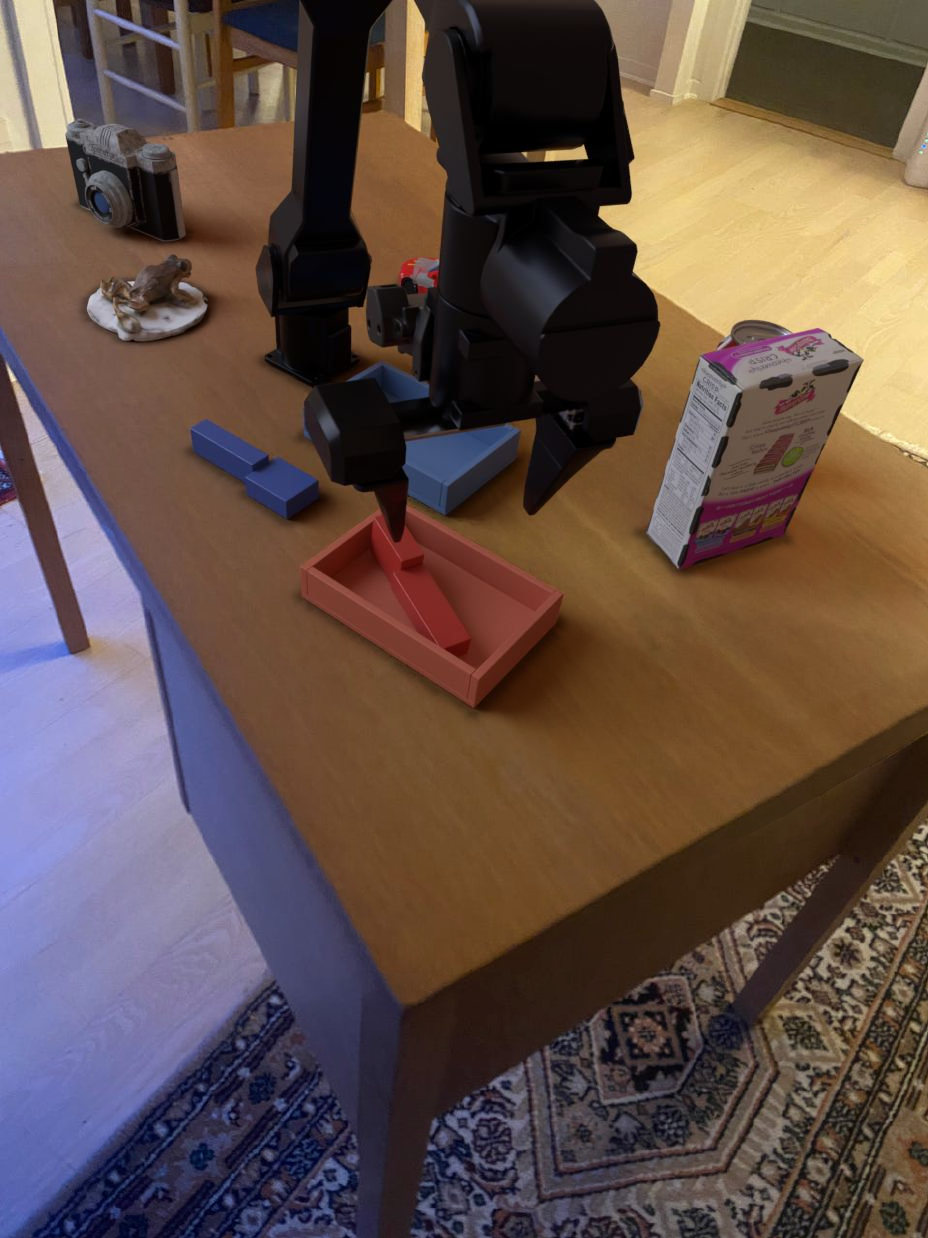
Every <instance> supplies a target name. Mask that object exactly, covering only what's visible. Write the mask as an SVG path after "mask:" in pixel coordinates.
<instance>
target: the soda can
mask: <svg viewBox="0 0 928 1238" xmlns="http://www.w3.org/2000/svg"><path fill="white" fill-rule="evenodd" d="M793 333H794V332H792V331H791V330H789V329H788V328H786V327H784V326H782V325H780V324H777V323H775V322H771V321H767V320H762V319H744V320H741V321H738V322H736V323H734V324H733V326H732V327H731V329H730V334H728V335H727V336H725V337H724V338H722V339H721V340H720V342H719V343H718V344H717V347H716V349H715V351H717V350H722V349H726V348H731V347H735V346H740V345H744V344H749V343H753V342H758V341H762V340H767V339H771V338H775V337H780V336H784V335H789V334H793Z"/></svg>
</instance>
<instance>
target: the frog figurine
mask: <svg viewBox="0 0 928 1238" xmlns="http://www.w3.org/2000/svg"><path fill="white" fill-rule="evenodd" d="M192 265H193V264H192V261H191V260H190V259H188V258H183V257H182V258H180V257H178V256H177V255H176V254H170V255H167V256H166V259H165V260H162V261H161V262H160V263H158V264H156V265H155V264H149V265H147V266H145V267H144V266H143V268H142V269H141V270H140V271H139V272H138V274H137V275H136V277H135V279H134V280H133V281H132V280H131V281H127V280H126V279H125V278H117V279H116V280H115V281H113V280H114V279H115V276H112V277H110V278H109V279H108V280H106V281H104V279H103V278H100V285H99V288H98V289H97V291H95V292H94V293H93V294H91V295H90V296H89V298H88V303H87V306H86V311H87V314H88V316H89V317H90V319H91V320H92V321H93V322H94V323H96V324H97V325H99V326H100V327H102V328H103V329H105V330H108V331H111V332H112V333H115V334H118V338H119V339H121V340H122V341H124V342H125V341H126V342H130V341H132V340H133V341H134V342H150V341H155V340H160V339H161V340H162V339H165V338H168V337H171V336H173V337H174V336H177V335H180V334H183V333H185V331H187V330H188V329H190V328H193V327H194V326H196V325H197V324H199V323H200V322H201V321H202V320H203V318H204V317H205V315H206V311H207V308H208V304H207V303H205V301H208V299H207V298H206V297H205V295H204V293H203V292H202V291H201V290H200V289H199V288H197V287H196V286H192V285H190V284H189V283H186V282H182V281H181V280H183V279H184V278H186V279H189V278H190V277H191V276H192V270H193V268H192V267H193V266H192Z"/></svg>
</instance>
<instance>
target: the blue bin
mask: <svg viewBox="0 0 928 1238" xmlns="http://www.w3.org/2000/svg"><path fill="white" fill-rule="evenodd" d="M367 378H375V379H376V381H377V383H378V384H379V386H380V388H381V389H382V391H383V393H384V394H385V396H386V398H387V399H388V401H389V403H391V402H398V401H405V400H412V399H418V398H425V397H428V396H429V383H428V382H427V381H424V382H419V381H418V380H417V378H416V377H415V375H413V374H410V373H408V372H407V371H405V370H402V369H400V368H398V367H396V366H395V365H392V364H391V363H388V362H386V361H384V360H380V361H377V362H376V363H375V364H373V365H371V366H369V367H368V368H366V369H365V370H362V371H361V372H359V373H357V374H355V375H354V376H352V377H351V378H349V379H347V380H346V381H352V380H359V379H367ZM302 425H303V437H305V438H306V439H308V440H310V441H312V440H311V438H310V436H309V434H308V432H307V430H306V428H305V420H304V405H303V406H302ZM521 434H522V430H521V429H519V428H517V427H515V426H514V425H511V424H509V423H506V424H505V425H504V426H499V427H493V428H487V429H480V430H474V431H468V432H462V433H456V434H450V435H444V436H438V437H431V438H425V439H419V440H413V441H407V442H406V447H407V448H406V464H405V465H404V466H403V467H402V468H403V470H404V471H405V473H406V475H407V477H408V478H409V486H408V496H410V497H411V498H413V499H414V500H416V501H418V502H420V503H422V504H424V505H425V506H427V507H429V508H430V509H432V510H434V511H436V512H438V513H439V514H441V515H443V516H447V515H448V514H449V513H450V512H452V511H453V510H455V509H456V508H457V507H458V506H459V505H461V504H462V503H463V502H464V501H466V500H468V498H469V497H471V496H472V495H473V494H475V492H477V491H479V489H480V488H482V487H483V486H485V484H487V483H488V482H489V481H491V480H492V479H494V478H495V476H497V475H498V474H500V473H501V472H502V471H504V469H506V468H507V467H508V466H509V465H511V464H512V463H513V462H515V460H517V457H518V451H519V444H520V441H521V440H520V438H521Z"/></svg>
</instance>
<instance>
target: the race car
mask: <svg viewBox="0 0 928 1238" xmlns="http://www.w3.org/2000/svg"><path fill="white" fill-rule="evenodd" d="M438 270H439V258H436V257H430V256H429V257H428V256H422V257H421V256H420V257H415V258H414V257H413V258H410V259H407V260H405V261H403V263H402V264H401V266H400V268H399V271H398V286H402V287H404V288H405V289H406V292H407V295H410V294H419V293H427V291H428V287H437V282H438Z"/></svg>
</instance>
